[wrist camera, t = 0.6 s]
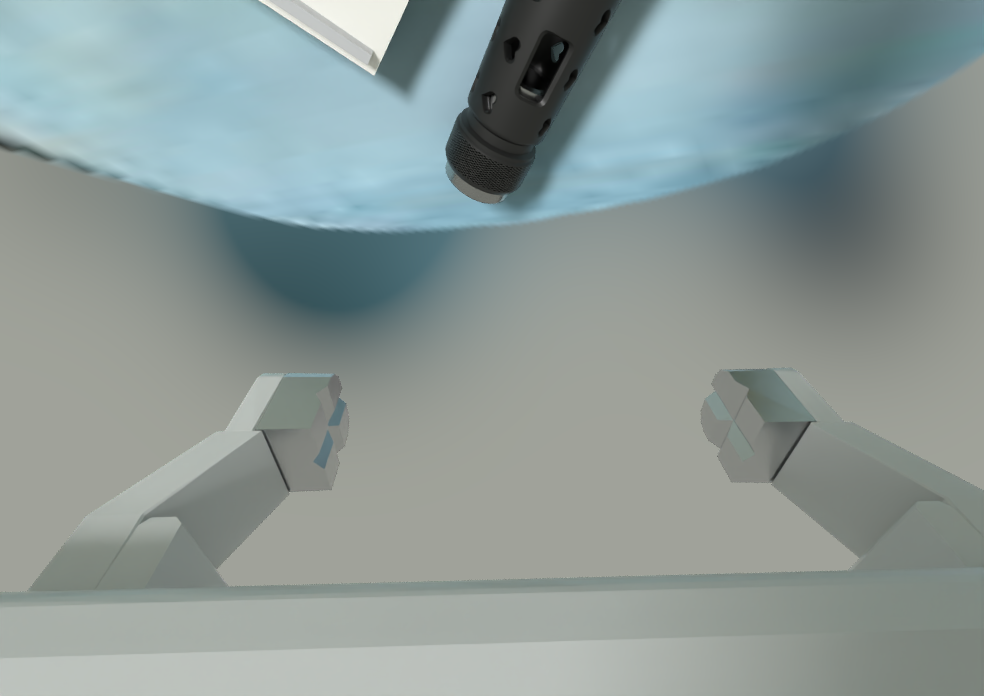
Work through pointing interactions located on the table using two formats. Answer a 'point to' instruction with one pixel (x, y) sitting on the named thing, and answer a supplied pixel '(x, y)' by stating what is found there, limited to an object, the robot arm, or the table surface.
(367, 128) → the table surface
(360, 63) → the socket box
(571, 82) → the muzzle brake
